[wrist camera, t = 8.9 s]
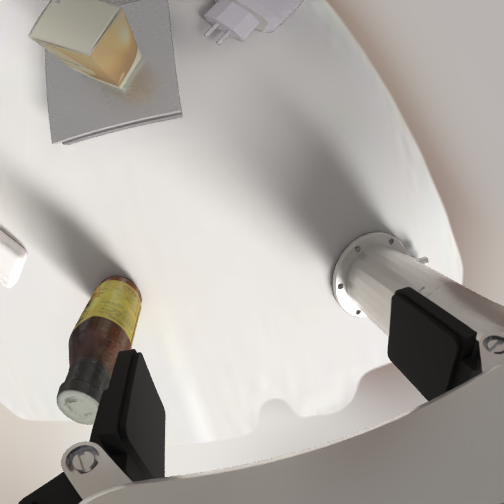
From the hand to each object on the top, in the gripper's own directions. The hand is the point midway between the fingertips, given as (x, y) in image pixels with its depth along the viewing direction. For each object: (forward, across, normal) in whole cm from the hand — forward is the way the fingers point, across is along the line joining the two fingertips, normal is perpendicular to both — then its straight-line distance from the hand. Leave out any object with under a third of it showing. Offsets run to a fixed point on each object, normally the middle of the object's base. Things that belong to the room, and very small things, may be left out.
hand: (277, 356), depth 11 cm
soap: (+29, +30, -2) cm, 42 cm away
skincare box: (+23, +9, -19) cm, 31 cm away
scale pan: (+27, +9, -20) cm, 35 cm away
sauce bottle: (+28, +14, +8) cm, 33 cm away
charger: (+29, -8, -26) cm, 39 cm away
